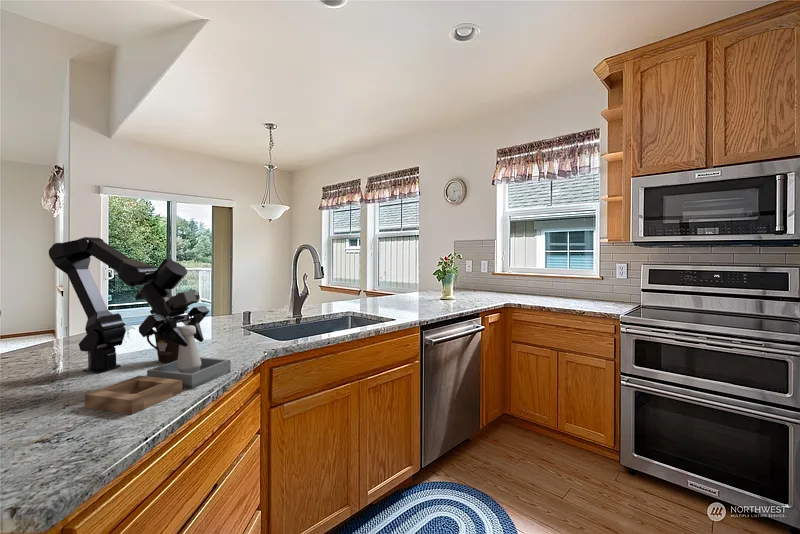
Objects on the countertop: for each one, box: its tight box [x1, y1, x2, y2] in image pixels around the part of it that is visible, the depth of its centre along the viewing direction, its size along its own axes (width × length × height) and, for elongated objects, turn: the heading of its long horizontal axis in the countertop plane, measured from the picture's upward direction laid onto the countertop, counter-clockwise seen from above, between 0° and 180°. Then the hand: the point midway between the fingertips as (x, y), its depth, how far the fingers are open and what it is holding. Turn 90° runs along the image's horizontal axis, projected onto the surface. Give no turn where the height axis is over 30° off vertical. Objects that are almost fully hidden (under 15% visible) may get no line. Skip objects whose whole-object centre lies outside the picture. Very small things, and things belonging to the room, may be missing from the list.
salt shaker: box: [177, 325, 201, 374], centre depth 102 cm, size 6×6×13 cm
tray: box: [146, 356, 232, 390], centre depth 102 cm, size 14×14×4 cm
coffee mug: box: [146, 325, 183, 364], centre depth 119 cm, size 12×9×10 cm
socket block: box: [84, 375, 183, 415], centre depth 87 cm, size 13×13×3 cm
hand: (194, 343), depth 102 cm, fingers open, 5 cm apart
